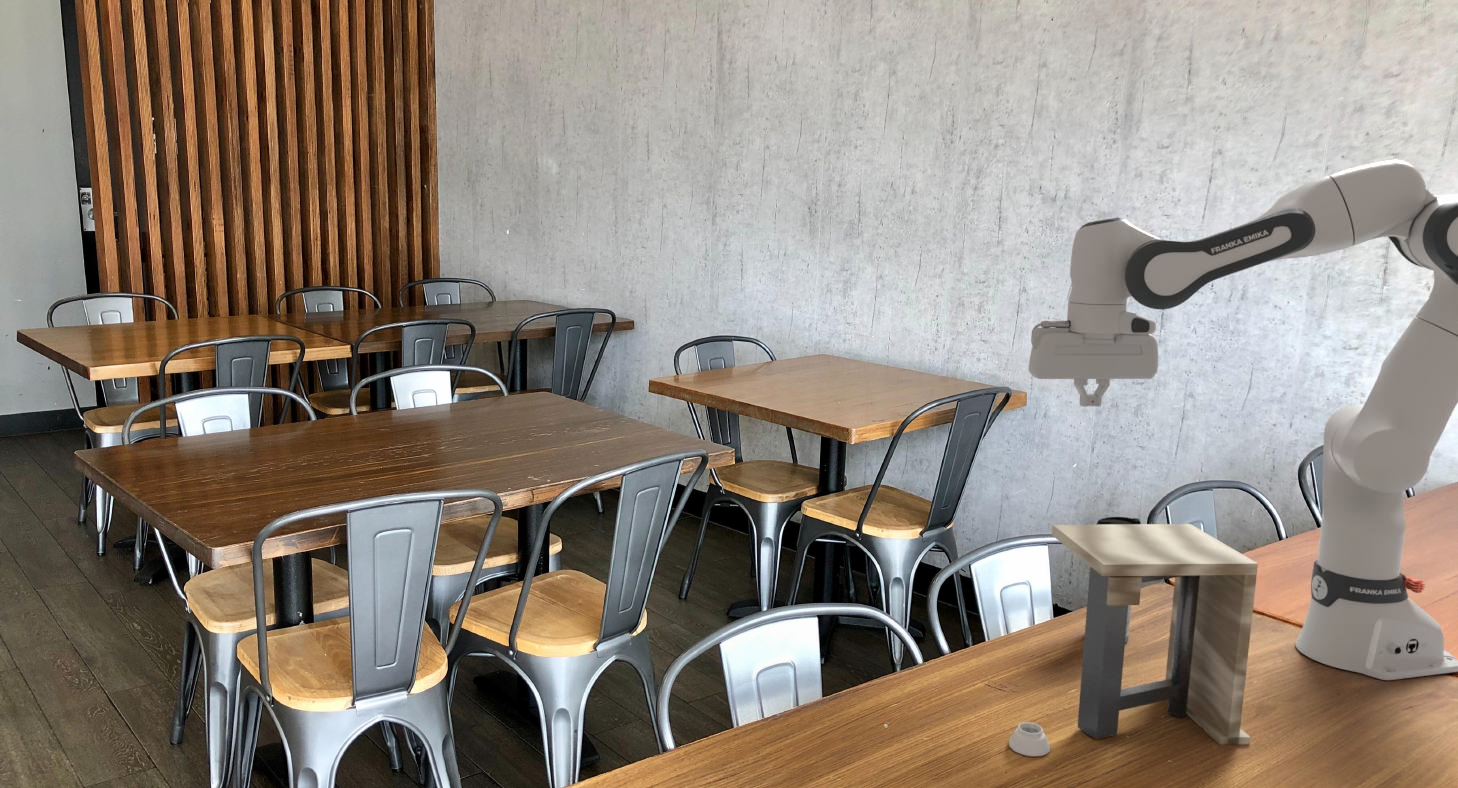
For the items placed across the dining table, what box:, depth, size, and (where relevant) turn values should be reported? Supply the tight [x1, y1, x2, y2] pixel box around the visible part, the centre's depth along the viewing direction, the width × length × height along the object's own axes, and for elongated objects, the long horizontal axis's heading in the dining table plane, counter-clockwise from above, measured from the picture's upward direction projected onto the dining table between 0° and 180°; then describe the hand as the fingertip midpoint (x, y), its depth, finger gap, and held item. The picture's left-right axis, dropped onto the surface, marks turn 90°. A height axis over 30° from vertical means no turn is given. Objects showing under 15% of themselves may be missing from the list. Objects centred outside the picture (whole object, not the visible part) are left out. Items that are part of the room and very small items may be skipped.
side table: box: [1051, 523, 1259, 746], centre depth 144 cm, size 22×17×24 cm
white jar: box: [1008, 721, 1051, 757], centre depth 136 cm, size 5×3×5 cm
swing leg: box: [1077, 566, 1200, 740], centre depth 142 cm, size 17×4×22 cm, turn 114°
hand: (1090, 406), depth 173 cm, fingers closed
